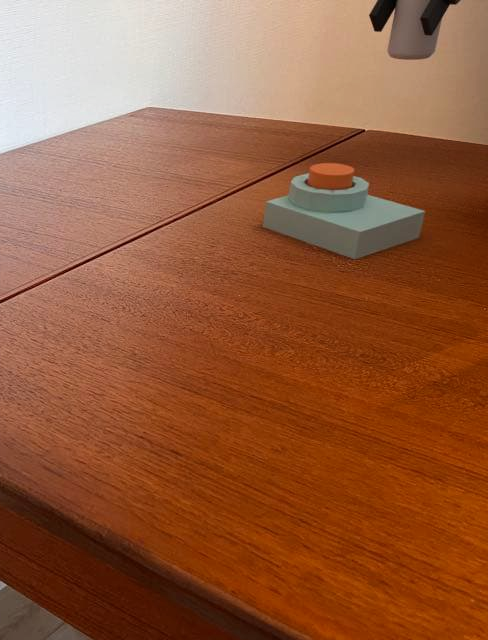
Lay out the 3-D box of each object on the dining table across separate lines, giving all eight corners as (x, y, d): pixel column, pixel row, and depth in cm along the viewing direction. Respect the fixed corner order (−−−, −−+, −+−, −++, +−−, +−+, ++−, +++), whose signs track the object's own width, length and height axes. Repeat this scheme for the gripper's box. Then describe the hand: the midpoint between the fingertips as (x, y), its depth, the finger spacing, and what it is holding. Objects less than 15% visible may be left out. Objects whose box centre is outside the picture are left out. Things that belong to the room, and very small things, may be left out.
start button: (360, 187, 83) (364, 169, 82) (331, 195, 81) (334, 177, 80) (326, 178, 86) (329, 160, 85) (298, 185, 84) (300, 168, 83)
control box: (419, 238, 82) (430, 192, 79) (354, 260, 78) (364, 212, 76) (324, 208, 90) (331, 166, 88) (262, 227, 87) (268, 183, 84)
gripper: (604, -137, 89) (492, 54, 89) (430, -127, 102) (331, 41, 102) (602, -200, 84) (482, 5, 84) (418, -181, 96) (314, -3, 96)
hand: (400, 24), depth 93 cm, fingers closed on beverage can, 5 cm apart
